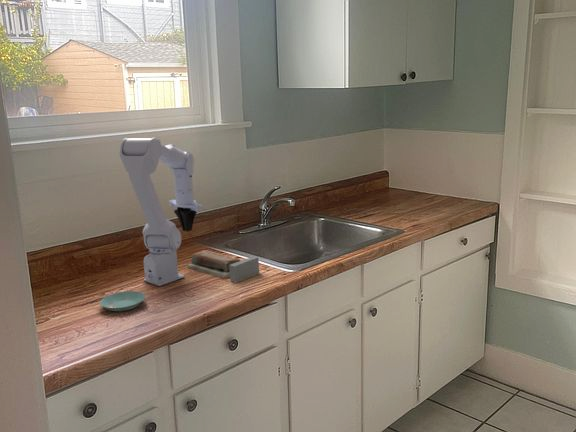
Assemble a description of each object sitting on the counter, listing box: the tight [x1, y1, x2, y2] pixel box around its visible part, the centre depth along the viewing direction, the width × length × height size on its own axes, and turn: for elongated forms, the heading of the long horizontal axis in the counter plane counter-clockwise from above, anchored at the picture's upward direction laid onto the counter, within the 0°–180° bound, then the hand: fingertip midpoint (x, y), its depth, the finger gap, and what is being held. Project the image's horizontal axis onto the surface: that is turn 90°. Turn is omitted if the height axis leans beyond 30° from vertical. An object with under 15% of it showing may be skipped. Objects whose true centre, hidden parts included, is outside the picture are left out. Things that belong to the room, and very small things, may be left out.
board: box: [229, 256, 260, 283], centre depth 173 cm, size 10×2×5 cm, turn 138°
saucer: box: [99, 290, 147, 312], centre depth 156 cm, size 12×12×2 cm
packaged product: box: [187, 249, 241, 279], centre depth 182 cm, size 18×5×10 cm
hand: (187, 230), depth 189 cm, fingers closed
